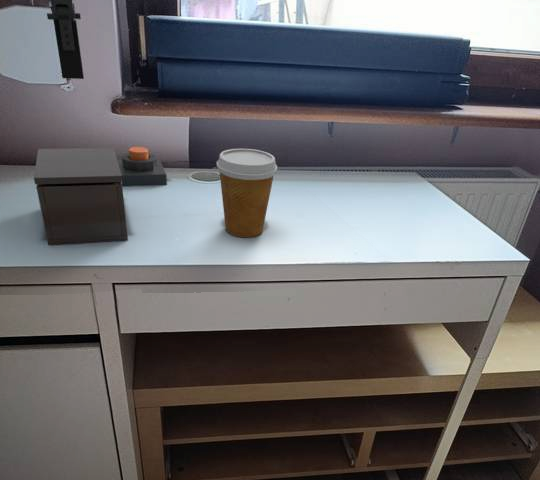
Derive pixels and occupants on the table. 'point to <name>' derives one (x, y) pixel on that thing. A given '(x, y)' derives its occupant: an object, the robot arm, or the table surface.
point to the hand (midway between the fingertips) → (73, 77)
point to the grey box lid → (76, 166)
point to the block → (142, 171)
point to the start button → (138, 153)
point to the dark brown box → (83, 212)
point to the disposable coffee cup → (245, 189)
